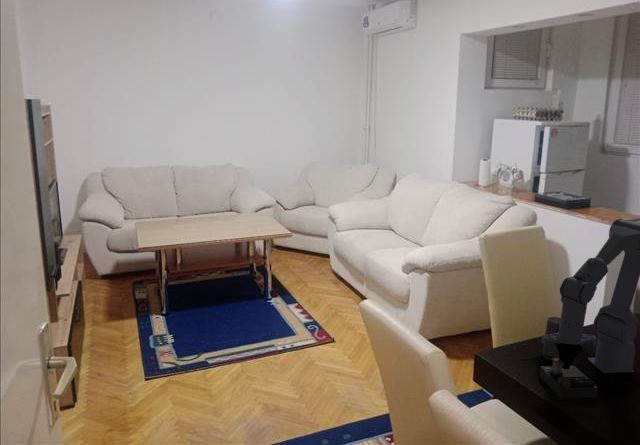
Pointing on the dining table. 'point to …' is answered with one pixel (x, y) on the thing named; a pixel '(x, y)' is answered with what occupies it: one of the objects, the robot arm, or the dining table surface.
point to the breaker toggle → (557, 366)
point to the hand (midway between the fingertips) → (564, 367)
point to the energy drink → (551, 328)
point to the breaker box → (569, 383)
